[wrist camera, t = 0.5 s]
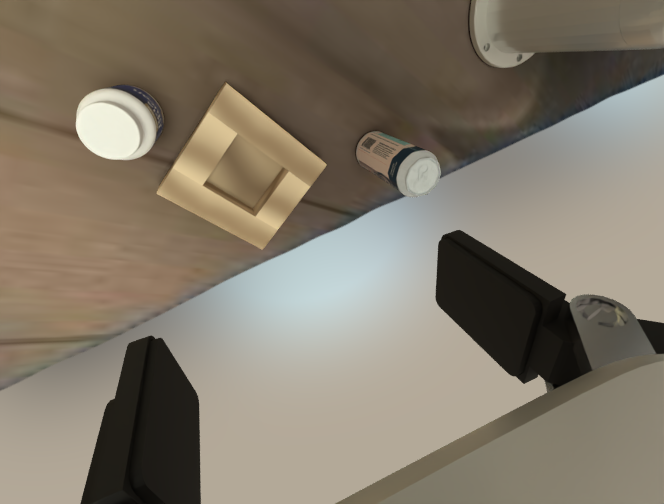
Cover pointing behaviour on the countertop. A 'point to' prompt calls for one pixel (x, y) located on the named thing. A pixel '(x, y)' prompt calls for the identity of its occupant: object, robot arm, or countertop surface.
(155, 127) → the pill bottle
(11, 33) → the countertop surface
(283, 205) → the socket block
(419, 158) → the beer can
